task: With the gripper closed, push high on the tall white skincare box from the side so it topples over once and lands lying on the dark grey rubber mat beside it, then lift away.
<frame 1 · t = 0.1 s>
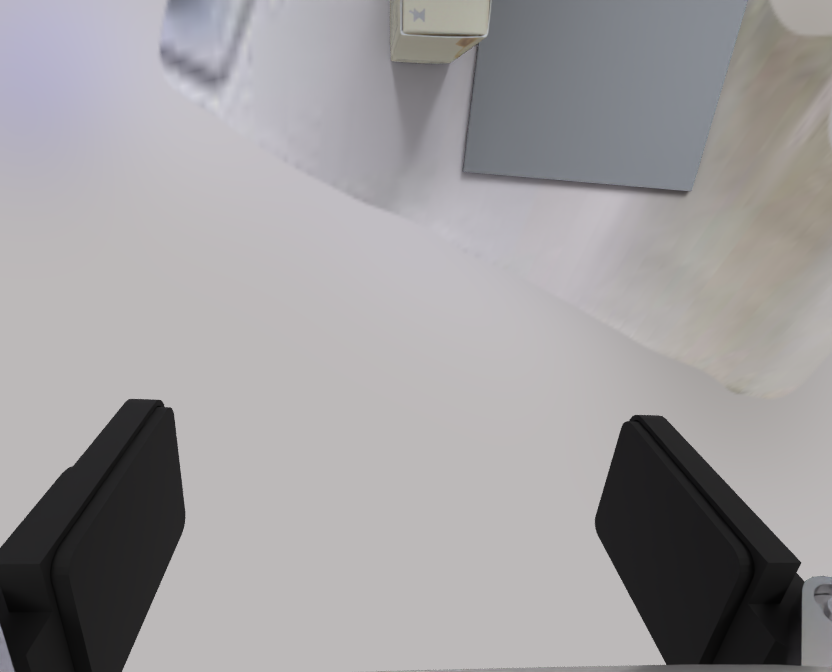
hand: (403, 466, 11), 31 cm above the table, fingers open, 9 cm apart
skincare box: (421, 9, 34), on the table
desk mat: (606, 47, 36), on the table
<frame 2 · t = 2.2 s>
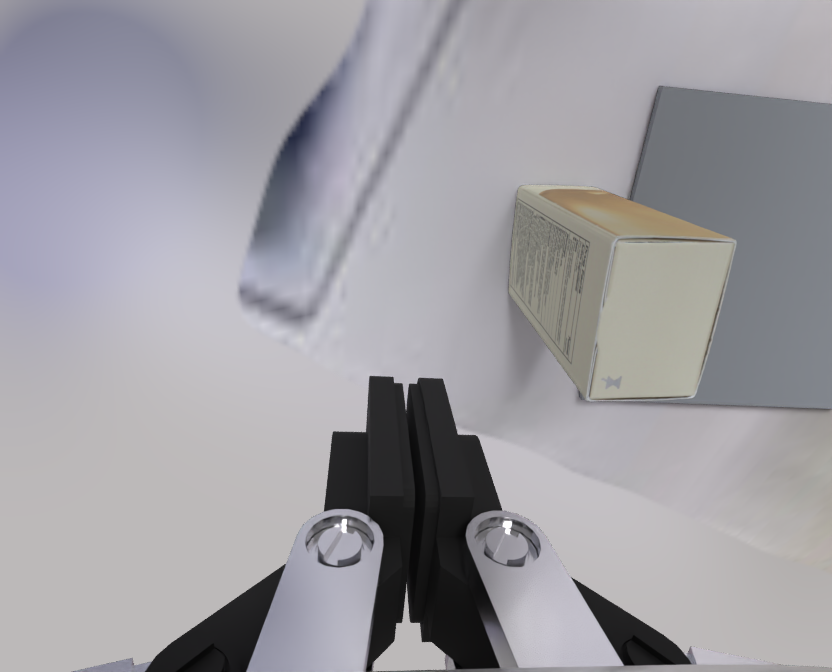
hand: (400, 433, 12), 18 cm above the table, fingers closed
skincare box: (548, 237, 29), on the table
desk mat: (759, 270, 31), on the table
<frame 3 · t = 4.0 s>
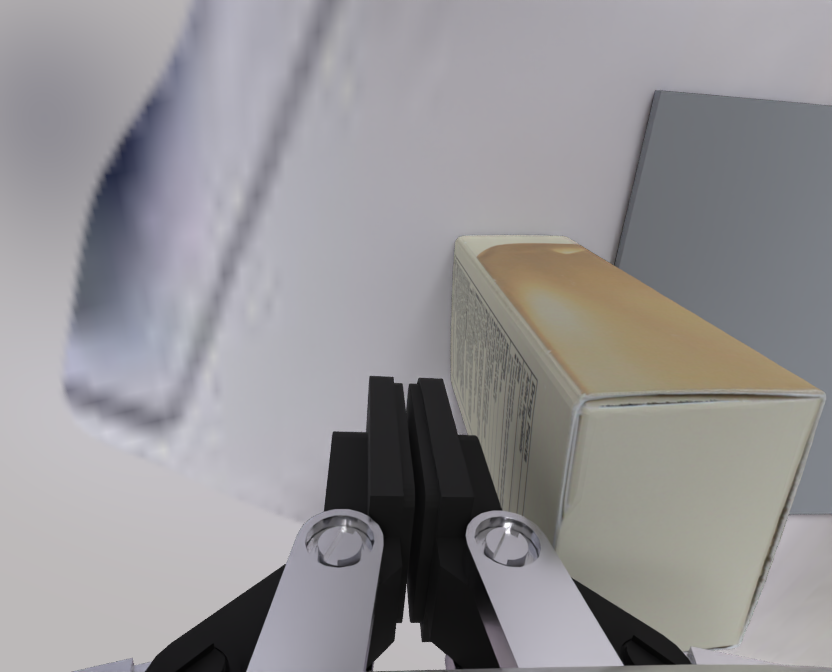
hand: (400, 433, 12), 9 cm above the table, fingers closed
skincare box: (503, 306, 20), on the table, touching gripper
desk mat: (801, 342, 22), on the table
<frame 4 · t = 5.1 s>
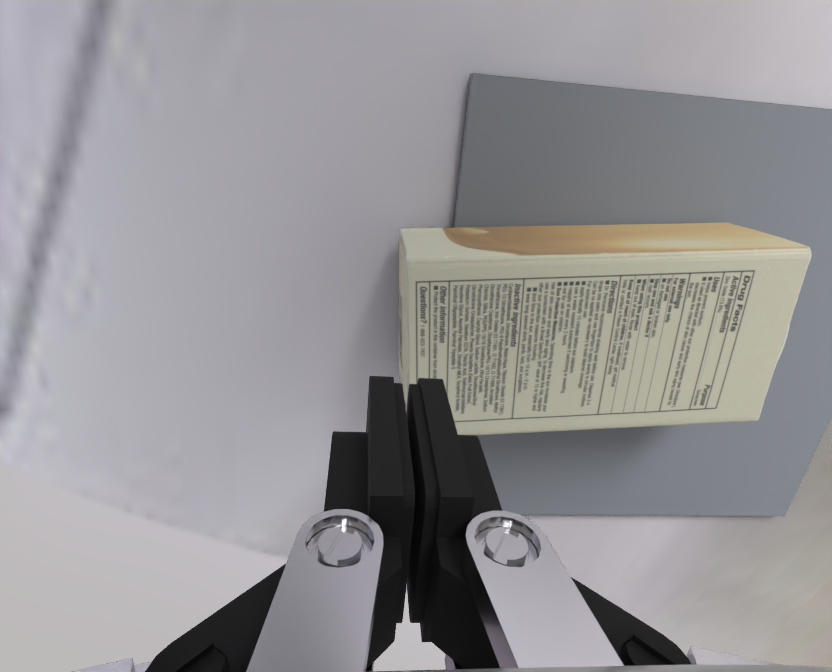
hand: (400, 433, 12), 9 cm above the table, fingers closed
skincare box: (394, 325, 17), point 3 cm above the table, touching desk mat
desk mat: (657, 338, 21), on the table
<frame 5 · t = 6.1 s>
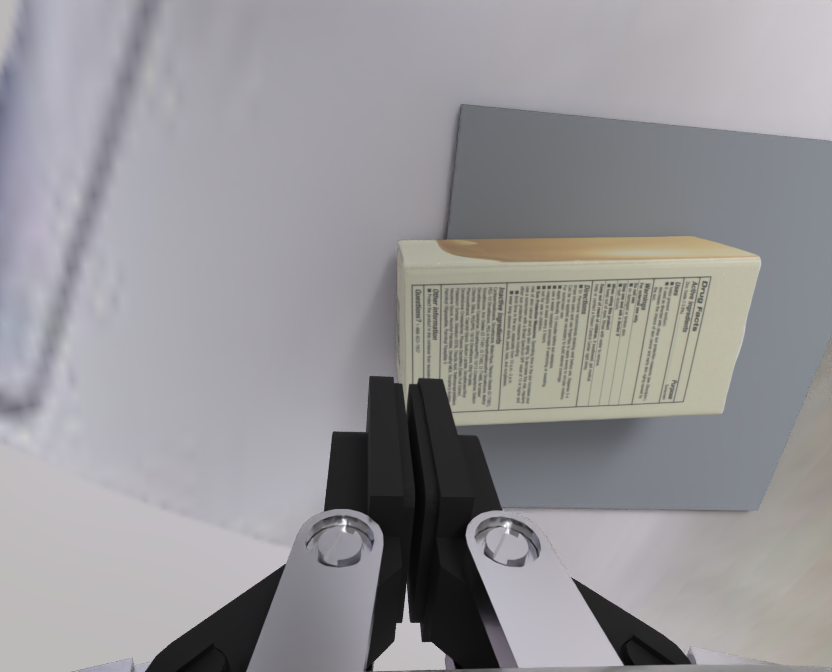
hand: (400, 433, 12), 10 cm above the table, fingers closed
skincare box: (392, 326, 19), point 3 cm above the table, touching desk mat
desk mat: (634, 342, 23), on the table
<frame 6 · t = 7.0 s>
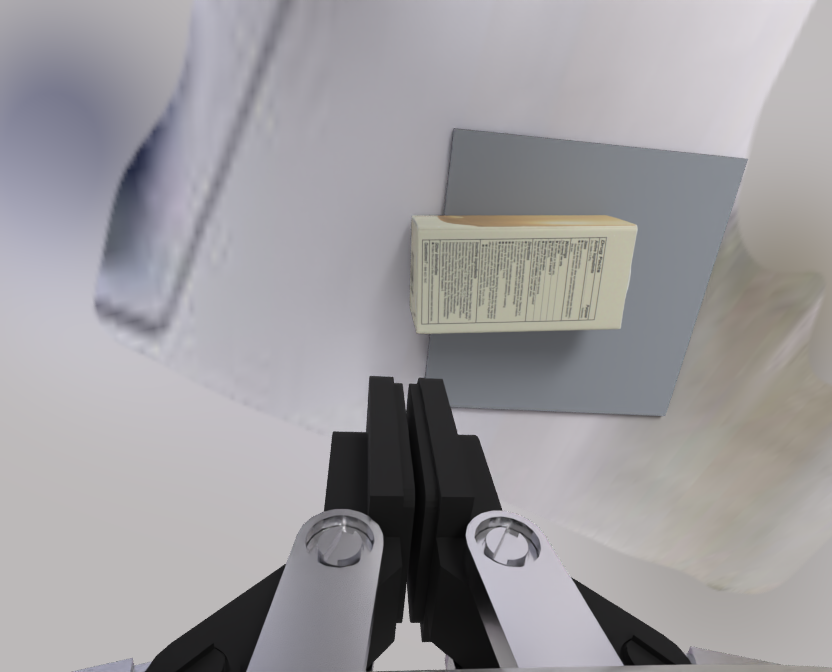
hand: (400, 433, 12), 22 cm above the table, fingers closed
skincare box: (408, 270, 30), point 3 cm above the table, touching desk mat
desk mat: (571, 289, 34), on the table
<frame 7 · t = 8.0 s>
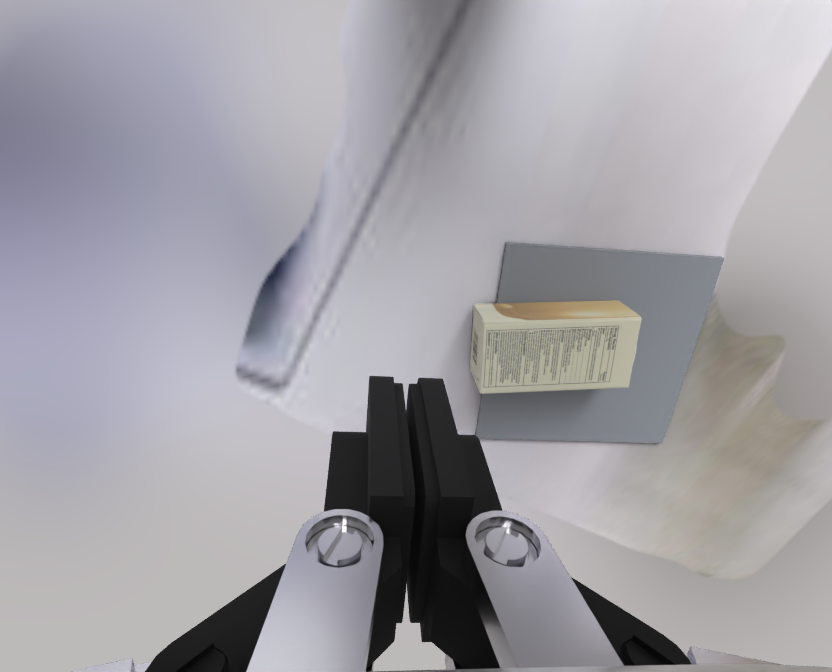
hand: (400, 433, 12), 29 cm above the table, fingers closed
skincare box: (472, 346, 41), point 3 cm above the table, touching desk mat
desk mat: (591, 351, 45), on the table
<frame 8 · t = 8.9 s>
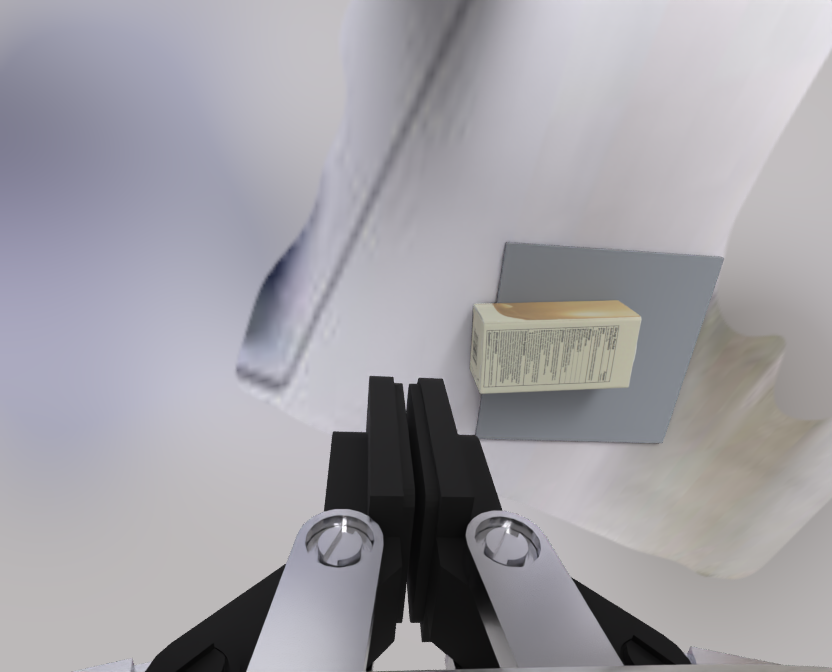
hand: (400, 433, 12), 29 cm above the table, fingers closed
skincare box: (472, 346, 41), point 3 cm above the table, touching desk mat
desk mat: (591, 351, 45), on the table
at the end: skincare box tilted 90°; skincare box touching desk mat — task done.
